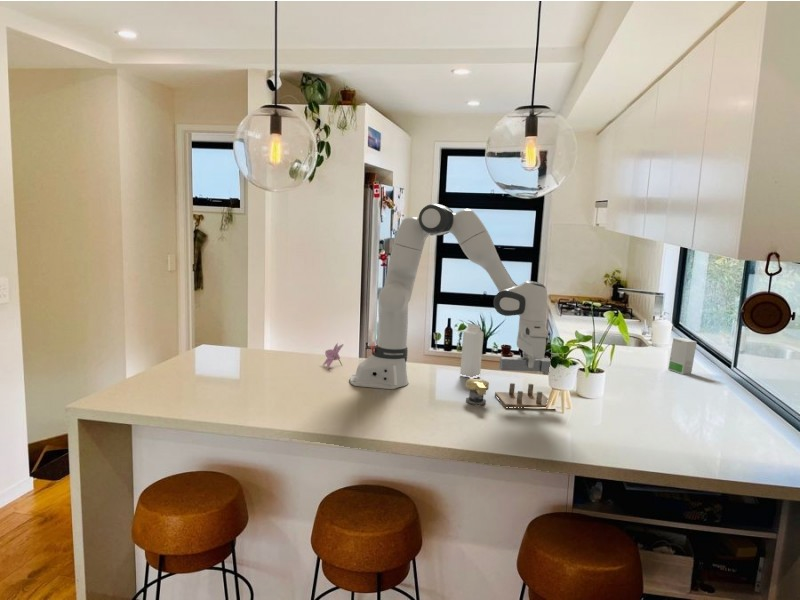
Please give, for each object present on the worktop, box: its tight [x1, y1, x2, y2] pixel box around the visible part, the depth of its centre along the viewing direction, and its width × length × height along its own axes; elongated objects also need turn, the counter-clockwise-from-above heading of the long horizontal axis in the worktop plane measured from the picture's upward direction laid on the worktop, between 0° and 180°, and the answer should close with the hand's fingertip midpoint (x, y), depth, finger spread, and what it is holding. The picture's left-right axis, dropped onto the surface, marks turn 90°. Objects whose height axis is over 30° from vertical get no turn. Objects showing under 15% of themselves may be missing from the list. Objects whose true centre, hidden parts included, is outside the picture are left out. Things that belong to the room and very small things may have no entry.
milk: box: [459, 323, 484, 377], centre depth 233 cm, size 6×6×22 cm
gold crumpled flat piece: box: [465, 378, 490, 396], centre depth 198 cm, size 12×8×2 cm, turn 5°
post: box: [465, 389, 487, 406], centre depth 201 cm, size 7×7×5 cm
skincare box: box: [667, 337, 698, 375], centre depth 265 cm, size 8×7×16 cm
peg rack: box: [494, 382, 549, 409], centre depth 204 cm, size 18×14×6 cm
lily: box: [322, 342, 344, 370], centre depth 238 cm, size 12×12×10 cm
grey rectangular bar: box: [498, 356, 551, 373], centre depth 202 cm, size 19×5×4 cm, turn 95°
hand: (528, 365), depth 202 cm, fingers closed on grey rectangular bar, 3 cm apart
